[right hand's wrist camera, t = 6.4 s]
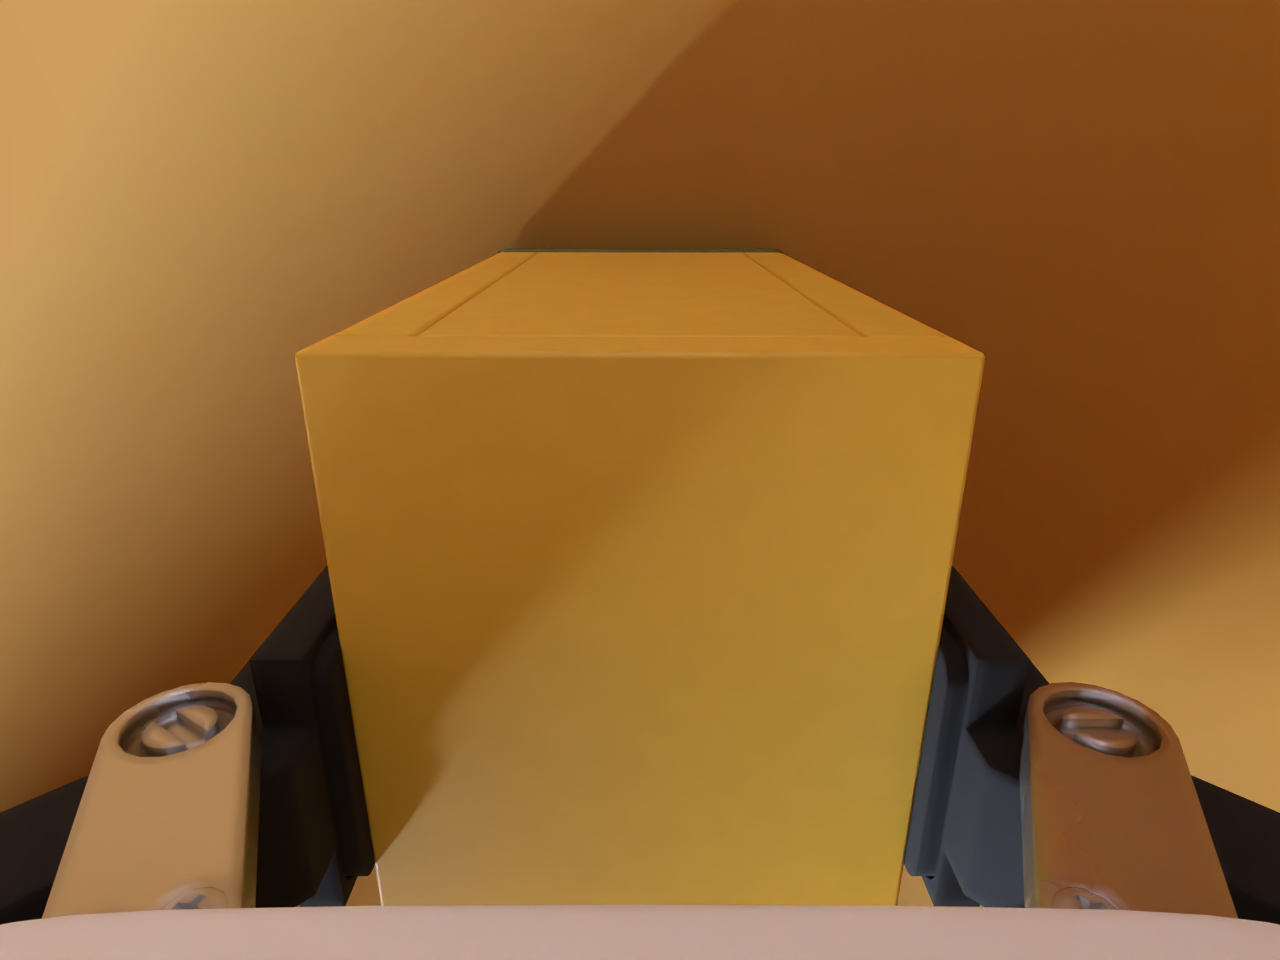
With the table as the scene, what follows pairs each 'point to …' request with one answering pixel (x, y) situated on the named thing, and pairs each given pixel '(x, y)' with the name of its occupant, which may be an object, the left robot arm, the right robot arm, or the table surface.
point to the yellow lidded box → (639, 575)
